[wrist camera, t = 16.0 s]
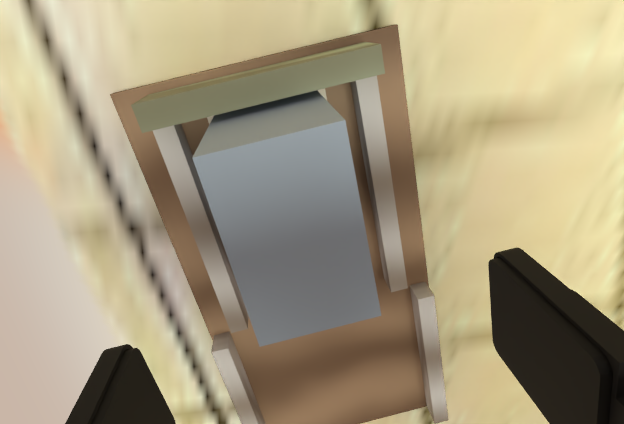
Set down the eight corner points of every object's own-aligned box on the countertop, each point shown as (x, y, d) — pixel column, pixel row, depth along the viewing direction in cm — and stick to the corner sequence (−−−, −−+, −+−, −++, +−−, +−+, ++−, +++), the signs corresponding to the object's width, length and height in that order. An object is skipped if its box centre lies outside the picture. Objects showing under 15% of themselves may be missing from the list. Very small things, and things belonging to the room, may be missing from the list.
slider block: (344, 228, 24) (381, 315, 17) (259, 249, 24) (259, 346, 16) (314, 87, 20) (345, 119, 13) (216, 112, 20) (192, 157, 13)
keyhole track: (440, 397, 31) (460, 438, 28) (258, 444, 31) (258, 491, 28) (394, 24, 20) (419, 23, 17) (112, 93, 20) (85, 105, 17)
